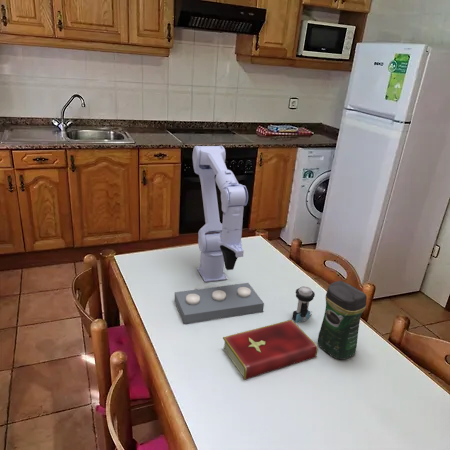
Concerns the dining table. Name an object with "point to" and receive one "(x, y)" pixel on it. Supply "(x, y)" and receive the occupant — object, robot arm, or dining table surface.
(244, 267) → the dining table surface
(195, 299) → the knob
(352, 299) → the coffee jar
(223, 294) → the knob middle
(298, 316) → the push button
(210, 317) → the knob panel
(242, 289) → the knob
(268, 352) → the hardcover book
